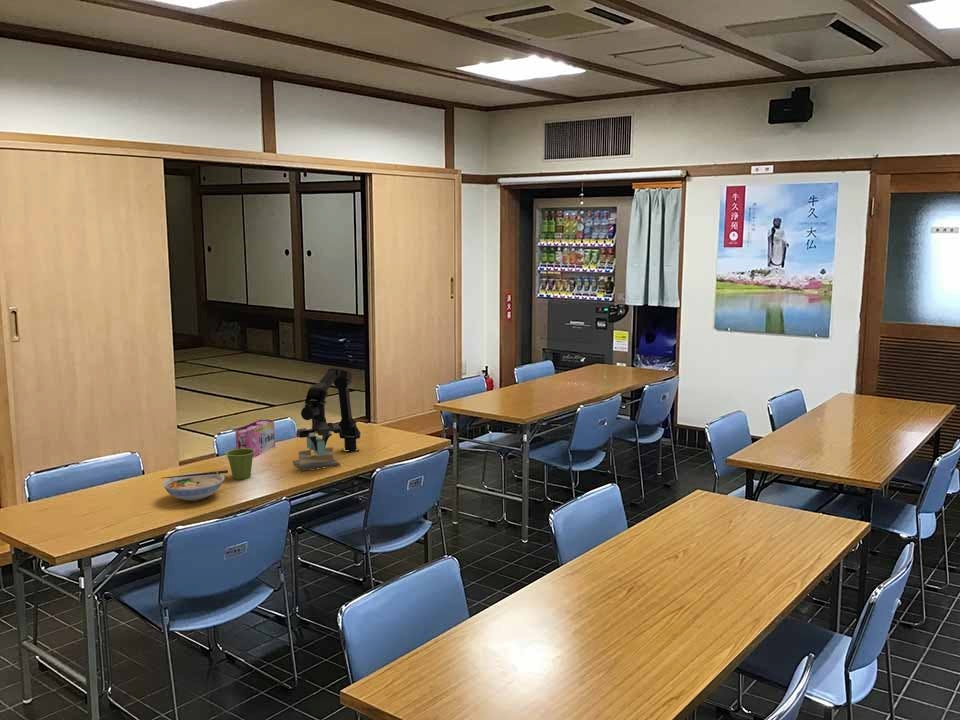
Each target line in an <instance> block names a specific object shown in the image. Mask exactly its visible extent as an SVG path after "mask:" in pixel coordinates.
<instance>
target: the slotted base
mask: <svg viewBox="0 0 960 720" xmlns="http://www.w3.org/2000/svg"><path fill="white" fill-rule="evenodd" d="M333 449H334V447H333V446H325V454H324V455H317V454H315V455H312V450H310V449H304V450H303V449H302V450H298V459H295V460H292V464H293V463H294V465H295V466H296V465H297V466H298V467H299V468H300V469H301V470H302V471H301V470H300V469H299V468H298V467H297V466H296V467H297V468H298V469H299V470H300V471H301V472H306V471H305V470H309V471H312V470H311V469H316V470H318V469H317V468H323V467H330V468H332V467H331V466H337V465H340V466H341V463H340V462H338V461H337V460H336V459H334V450H333ZM337 467H338V466H337ZM323 469H324V468H323Z"/></svg>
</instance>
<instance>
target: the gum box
mask: <svg viewBox="0 0 960 720" xmlns="http://www.w3.org/2000/svg"><path fill="white" fill-rule="evenodd" d="M275 434H276V431H275V420H273V419H272V420H271V419H257V420H256V421H254V422H252V423H248V424H246V425H243V426H241V427H238V428H236V429H235V449H243V448H247V449H253V450H255V452H254V455H253V458H255V457H257V456H259V455H258V454H260V453H262V452H264V451H266V450H268V449H271V448H273V447H275V448H276V435H275ZM273 449H274V448H273ZM271 450H272V449H271ZM268 451H269V450H268ZM266 452H267V451H266ZM264 453H265V452H264ZM262 454H263V453H262ZM256 455H257V456H256ZM260 455H261V454H260ZM254 456H255V457H254Z"/></svg>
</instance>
